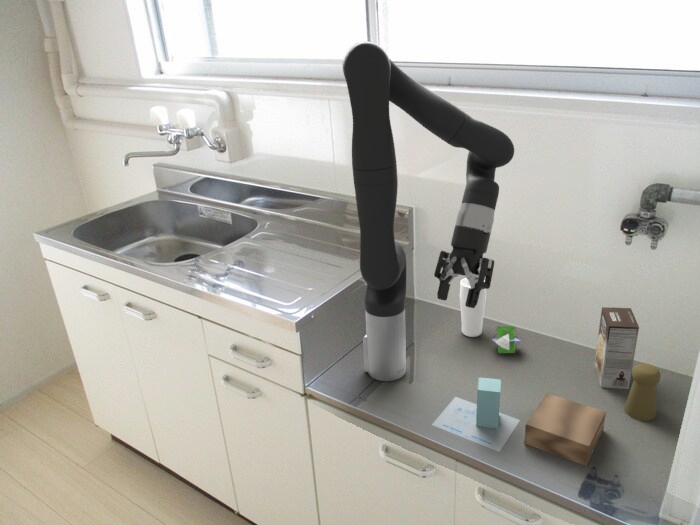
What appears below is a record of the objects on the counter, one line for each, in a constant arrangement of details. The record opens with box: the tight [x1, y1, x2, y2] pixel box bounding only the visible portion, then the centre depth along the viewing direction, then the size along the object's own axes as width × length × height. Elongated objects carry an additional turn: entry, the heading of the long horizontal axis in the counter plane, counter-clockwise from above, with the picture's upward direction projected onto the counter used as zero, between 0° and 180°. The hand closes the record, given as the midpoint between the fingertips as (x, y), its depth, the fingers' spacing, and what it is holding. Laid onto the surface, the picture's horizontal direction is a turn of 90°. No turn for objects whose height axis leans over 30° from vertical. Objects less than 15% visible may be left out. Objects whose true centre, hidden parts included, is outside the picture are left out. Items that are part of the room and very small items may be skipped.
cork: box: [623, 363, 661, 422], centre depth 123 cm, size 6×6×11 cm
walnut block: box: [524, 392, 607, 466], centre depth 118 cm, size 12×12×5 cm
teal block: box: [475, 376, 502, 429], centre depth 123 cm, size 4×4×9 cm
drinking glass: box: [459, 277, 488, 338], centre depth 156 cm, size 7×7×15 cm
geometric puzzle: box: [490, 325, 522, 354], centre depth 148 cm, size 7×7×8 cm
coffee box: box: [594, 306, 640, 390], centre depth 134 cm, size 9×6×16 cm
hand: (455, 303), depth 124 cm, fingers open, 8 cm apart
